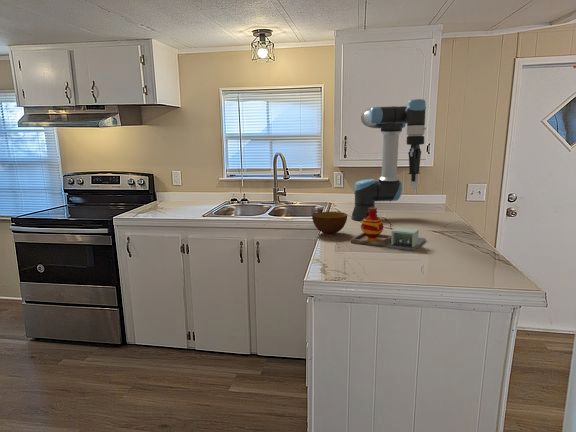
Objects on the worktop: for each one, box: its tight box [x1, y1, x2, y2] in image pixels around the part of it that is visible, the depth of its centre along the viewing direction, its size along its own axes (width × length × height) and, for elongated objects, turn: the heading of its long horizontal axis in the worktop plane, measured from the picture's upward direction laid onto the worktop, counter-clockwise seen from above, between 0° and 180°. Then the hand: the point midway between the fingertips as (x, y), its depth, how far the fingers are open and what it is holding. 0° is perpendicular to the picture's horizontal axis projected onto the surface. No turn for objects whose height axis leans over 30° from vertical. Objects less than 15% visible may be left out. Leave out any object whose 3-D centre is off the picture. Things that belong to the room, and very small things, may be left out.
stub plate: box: [388, 237, 427, 252], centre depth 182 cm, size 11×20×4 cm, turn 148°
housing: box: [390, 227, 420, 247], centre depth 177 cm, size 10×7×6 cm
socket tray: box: [350, 232, 392, 248], centre depth 189 cm, size 15×15×2 cm
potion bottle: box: [360, 207, 384, 241], centre depth 188 cm, size 10×10×15 cm
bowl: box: [311, 211, 348, 236], centre depth 204 cm, size 18×18×10 cm
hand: (413, 188), depth 184 cm, fingers closed
